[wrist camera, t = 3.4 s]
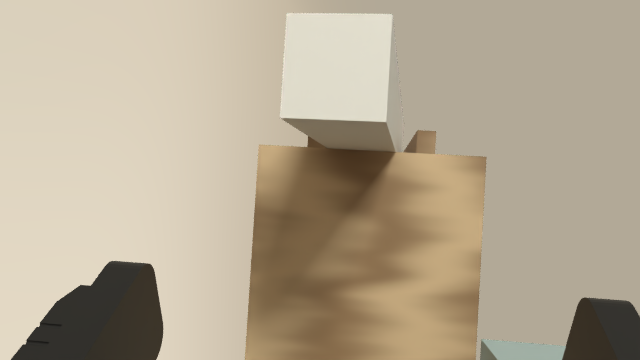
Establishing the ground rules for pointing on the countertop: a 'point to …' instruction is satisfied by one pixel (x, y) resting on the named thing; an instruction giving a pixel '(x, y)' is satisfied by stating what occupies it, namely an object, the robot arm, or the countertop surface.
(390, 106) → the bar
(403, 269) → the tall wood-grain block
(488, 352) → the post
